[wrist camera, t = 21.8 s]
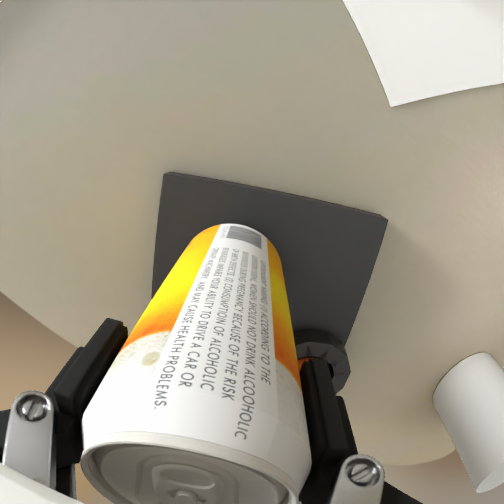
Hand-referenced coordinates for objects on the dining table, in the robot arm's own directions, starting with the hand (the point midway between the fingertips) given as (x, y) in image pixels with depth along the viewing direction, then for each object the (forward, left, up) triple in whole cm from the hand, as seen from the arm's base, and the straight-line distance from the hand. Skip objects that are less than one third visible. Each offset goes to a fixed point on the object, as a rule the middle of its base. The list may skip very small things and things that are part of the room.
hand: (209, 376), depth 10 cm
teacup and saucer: (+26, -11, -12) cm, 31 cm away
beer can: (0, 0, -10) cm, 10 cm away
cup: (-9, -26, -12) cm, 30 cm away
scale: (-2, -2, -11) cm, 12 cm away
